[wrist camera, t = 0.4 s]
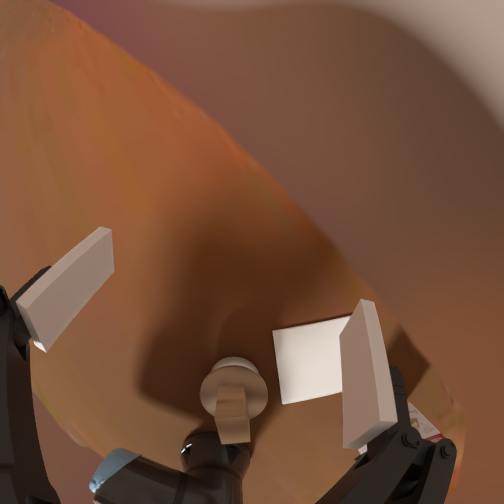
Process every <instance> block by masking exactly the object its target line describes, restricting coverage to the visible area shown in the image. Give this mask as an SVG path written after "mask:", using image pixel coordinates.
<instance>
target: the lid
mask: <svg viewBox="0 0 504 504" xmlns="http://www.w3.org/2000/svg"><path fill="white" fill-rule="evenodd" d="M200 399H201V403H202V405H203V407H204V408H205V409H206V410H207V412H208V413H210V414H211V415H212V416H214V420H215V423H216V427H217V430H218V434H219V437H220V440H221V443H222V444H233V443H243V442H250V425H249V420H250V419H252V418H254V417H256V416H257V415H259V414H260V413H261V412H262V411H263V409H264V408H265V406H266V404H267V401H268V391H267V386H266V383H265V381H264V380H263V378H262V377H261V376H260V375H259V374H258V373H256V372H255V371H253V370H251V369H249V368H247V367H243V366H238V365H228V366H223V367H219V368H217V369H215V370H213V371H212V372H210V373H209V374H208V375H207V376H206V377H205V379H204V380H203V382H202V385H201V389H200Z"/></svg>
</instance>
